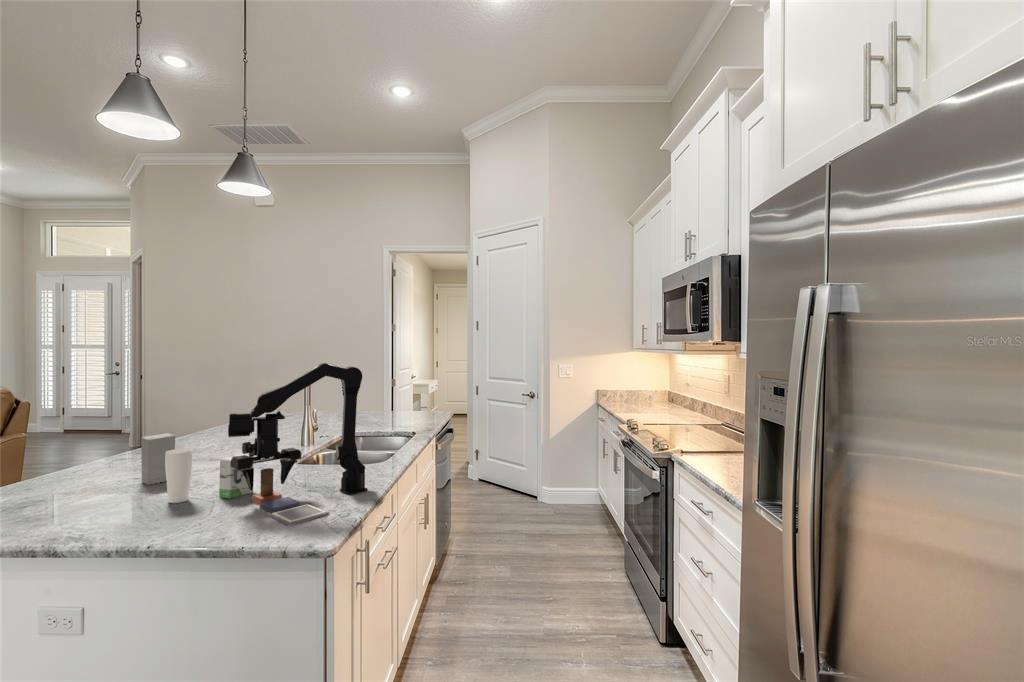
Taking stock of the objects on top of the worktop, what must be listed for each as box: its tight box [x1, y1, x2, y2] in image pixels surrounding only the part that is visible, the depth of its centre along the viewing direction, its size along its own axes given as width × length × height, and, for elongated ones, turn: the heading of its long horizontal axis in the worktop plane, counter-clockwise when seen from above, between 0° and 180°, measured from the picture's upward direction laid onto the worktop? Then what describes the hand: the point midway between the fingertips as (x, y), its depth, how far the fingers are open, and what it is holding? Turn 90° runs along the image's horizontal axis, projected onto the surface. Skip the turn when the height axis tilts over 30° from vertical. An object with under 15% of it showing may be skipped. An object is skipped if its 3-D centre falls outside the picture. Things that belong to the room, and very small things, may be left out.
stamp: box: [251, 467, 283, 506], centre depth 151 cm, size 6×6×10 cm
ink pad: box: [259, 496, 303, 514], centre depth 145 cm, size 8×8×2 cm
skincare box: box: [140, 432, 176, 486], centre depth 173 cm, size 8×7×16 cm
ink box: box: [218, 453, 255, 500], centre depth 158 cm, size 9×5×12 cm, turn 159°
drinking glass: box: [165, 448, 193, 504], centre depth 151 cm, size 7×7×15 cm
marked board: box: [268, 503, 330, 526], centre depth 139 cm, size 11×11×1 cm
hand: (267, 487), depth 151 cm, fingers open, 9 cm apart
